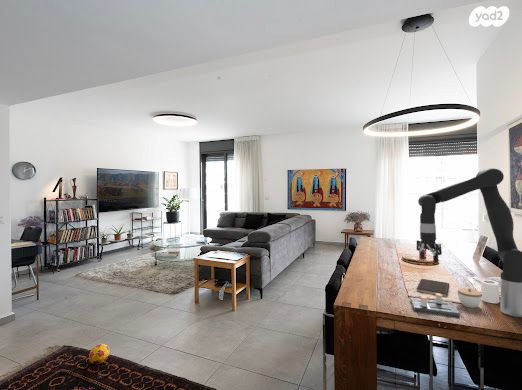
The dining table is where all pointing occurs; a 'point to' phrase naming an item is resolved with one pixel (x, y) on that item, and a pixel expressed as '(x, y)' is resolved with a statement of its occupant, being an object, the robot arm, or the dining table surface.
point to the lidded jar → (469, 297)
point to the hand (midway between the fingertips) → (428, 260)
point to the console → (435, 307)
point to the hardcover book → (433, 287)
